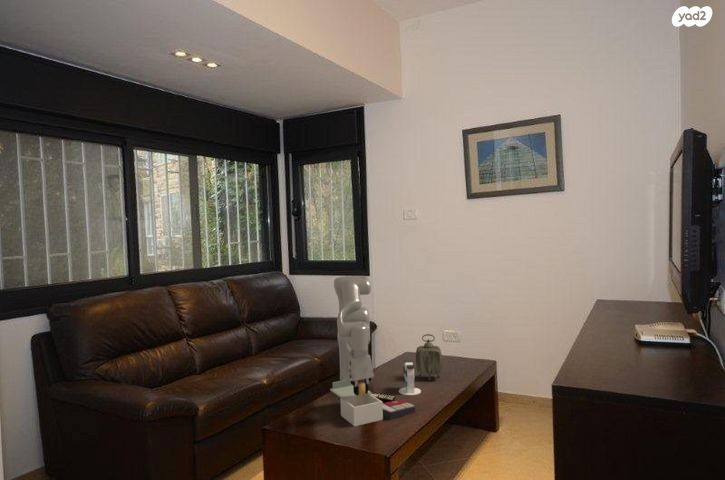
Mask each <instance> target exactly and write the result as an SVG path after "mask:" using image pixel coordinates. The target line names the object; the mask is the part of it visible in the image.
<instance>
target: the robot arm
mask: <svg viewBox="0 0 725 480" xmlns="http://www.w3.org/2000/svg"><path fill="white" fill-rule="evenodd" d="M333 287H334V288H333V289H334V291H335V293H336V296H337V300H338V314H337V318H336V325H337V336H336V337H337V342H338V351H339V381H343V380H346V381H348V382H350V383H351V384H352V385H353V392H354V394H355V395H357V396H358V395H359V390H358V386H357V383H358V380H365V392H366V394H368V390H369V384H370V383H371V382H372V380H373V378H374V377H376V375H375V373H374V371H373V364H372V363H373V362H372V359H371V355H370V354H369V344H370V342H371V327H370V326H371V324H370V323H371V322H370V313H369V310H368V308H367V307H364V306H362V300H361V299H362V298H361V297H362V296H365V295H366V296H368V295H370V293H371V292H372V285H371V281H370V280H369V278H368V277H366V276H365V275H353V276H339V277H336V278H335V279H334V280H333ZM351 379H353V381H352V380H351Z"/></svg>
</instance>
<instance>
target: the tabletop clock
mask: <svg viewBox="0 0 725 480" xmlns="http://www.w3.org/2000/svg"><path fill="white" fill-rule="evenodd" d="M426 336H431V337H433V339H428V338H427V340H425V339H424V337H426ZM435 338H436V337H435V336H434V335H433V334H429V333H426V334H423V336H422V337H421V340H422V341H424V342H425V343H424V344H423V345H419V346H418V347H416V350H415V365H416V371H417V373H418V376H417V377H418V378H422V375H428V378H427V379H428V381H432V378H431V375H437V378H441V375H440V374H441V373H442V369H443V357H442V356H443V354H442V351H441V347H440V346H437V345H434V344H433V342H434V341H435Z"/></svg>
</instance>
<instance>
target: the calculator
mask: <svg viewBox="0 0 725 480" xmlns="http://www.w3.org/2000/svg"><path fill="white" fill-rule="evenodd" d="M382 404H383V419H386V420H389V421H393V420H395V419H398V418H401V417H404V416H408V415H412V414H415V413H416V406H415V405H414V404H413V403H409V402H406V401H405V400H403V399H396V400H392V401H387V402H384V403H382Z"/></svg>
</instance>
